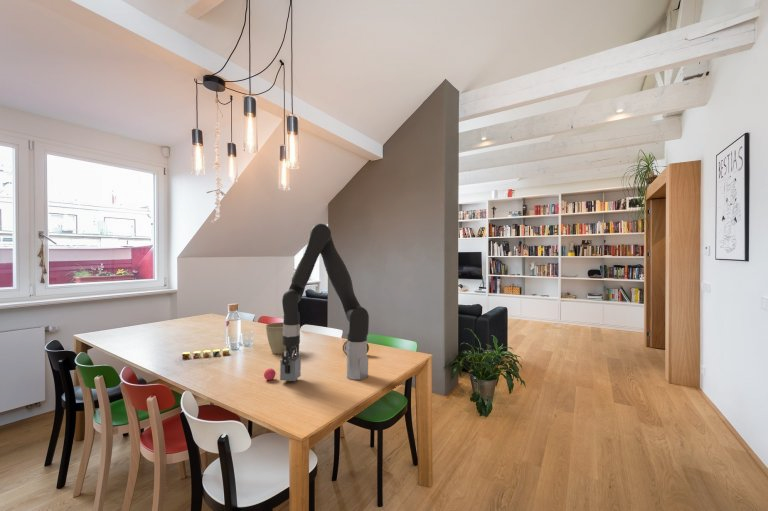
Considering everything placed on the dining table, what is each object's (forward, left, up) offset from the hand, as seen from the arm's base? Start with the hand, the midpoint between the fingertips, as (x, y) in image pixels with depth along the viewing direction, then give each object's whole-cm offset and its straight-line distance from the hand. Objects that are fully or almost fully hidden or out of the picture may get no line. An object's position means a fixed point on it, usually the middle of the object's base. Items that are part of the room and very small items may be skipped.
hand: (290, 370), depth 150 cm
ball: (+9, +5, -2) cm, 10 cm away
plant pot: (+41, -23, -5) cm, 47 cm away
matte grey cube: (0, 0, -3) cm, 3 cm away
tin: (+3, -47, -5) cm, 48 cm away
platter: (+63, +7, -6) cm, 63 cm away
